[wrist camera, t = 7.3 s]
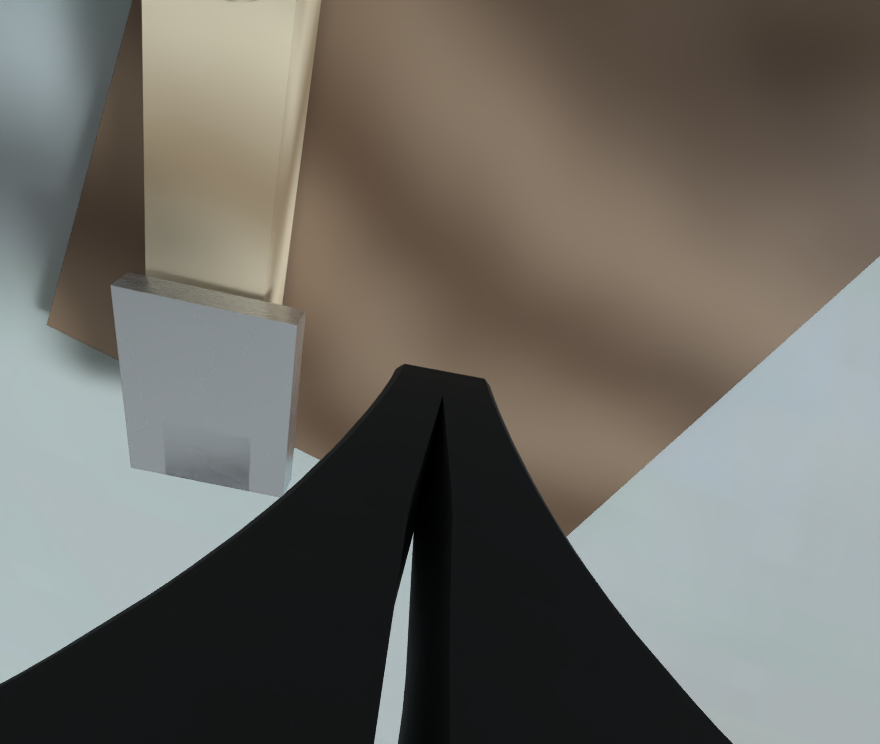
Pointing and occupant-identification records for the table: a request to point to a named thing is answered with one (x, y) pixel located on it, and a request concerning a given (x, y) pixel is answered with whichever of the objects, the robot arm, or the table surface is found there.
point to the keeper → (208, 382)
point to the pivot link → (224, 139)
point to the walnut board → (545, 210)
